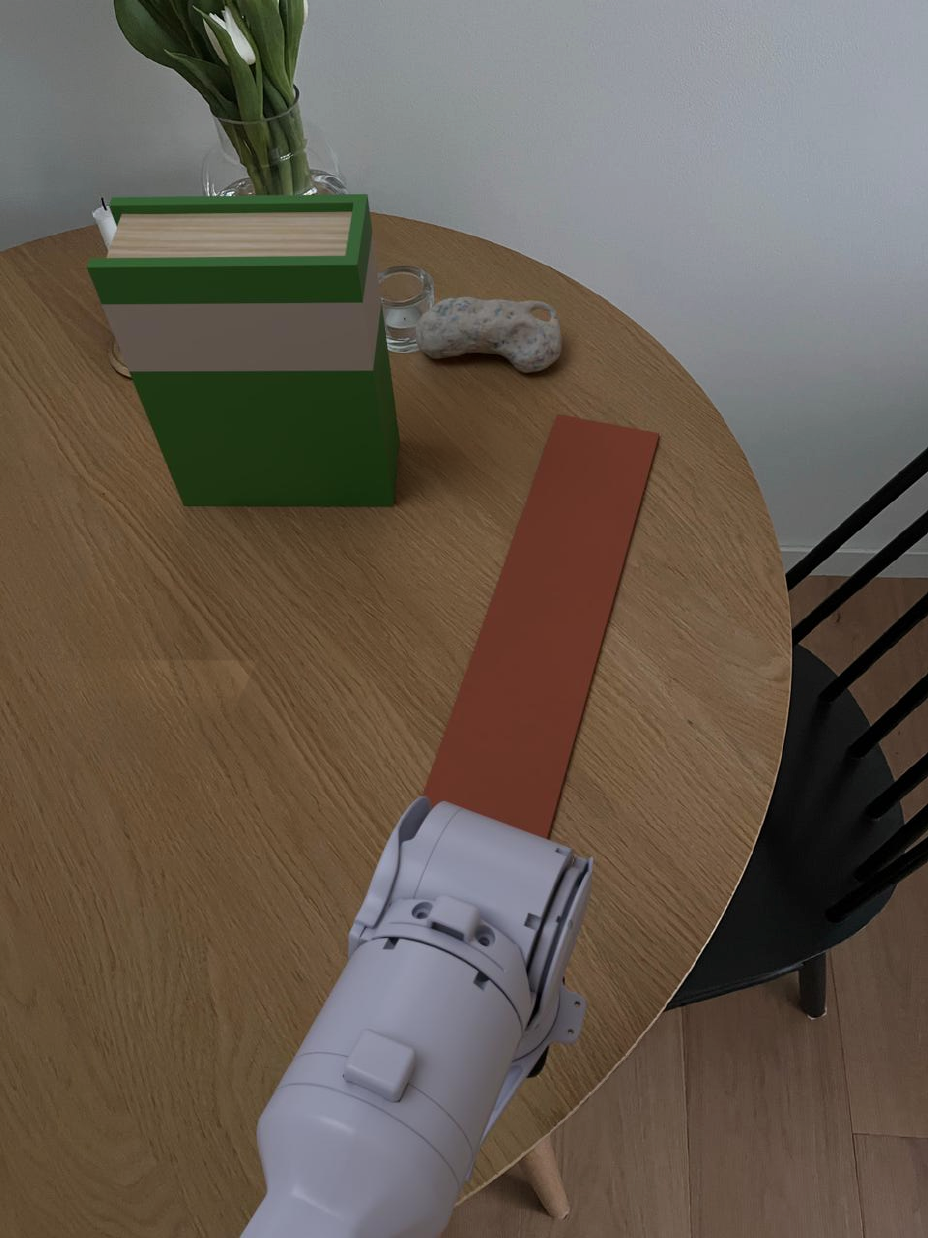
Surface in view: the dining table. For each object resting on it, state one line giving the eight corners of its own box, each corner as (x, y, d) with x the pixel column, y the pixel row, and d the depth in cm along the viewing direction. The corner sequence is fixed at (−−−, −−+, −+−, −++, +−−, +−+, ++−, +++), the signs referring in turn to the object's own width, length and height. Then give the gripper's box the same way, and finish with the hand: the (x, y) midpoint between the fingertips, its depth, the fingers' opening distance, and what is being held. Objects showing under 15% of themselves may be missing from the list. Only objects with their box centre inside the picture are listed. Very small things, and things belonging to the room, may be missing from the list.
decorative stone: (414, 381, 96) (409, 338, 91) (417, 331, 99) (413, 286, 95) (562, 379, 95) (564, 335, 91) (559, 328, 99) (561, 283, 95)
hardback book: (183, 505, 89) (86, 267, 69) (199, 440, 93) (111, 197, 73) (393, 506, 88) (357, 264, 68) (399, 440, 92) (367, 193, 72)
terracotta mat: (515, 956, 67) (515, 954, 66) (380, 916, 68) (380, 914, 68) (659, 436, 91) (659, 432, 90) (556, 416, 92) (557, 413, 92)
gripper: (540, 1200, 38) (539, 1213, 50) (626, 830, 45) (608, 917, 57) (357, 1138, 40) (398, 1164, 51) (469, 788, 47) (483, 881, 58)
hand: (500, 1032), depth 54 cm, fingers closed
